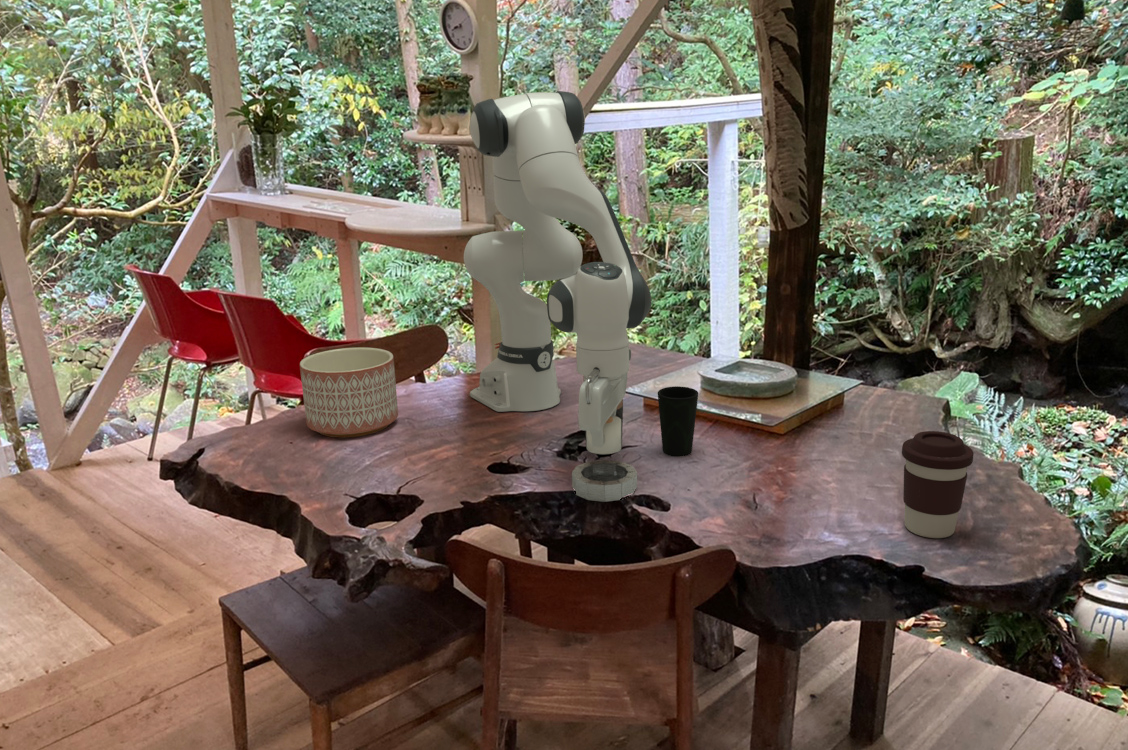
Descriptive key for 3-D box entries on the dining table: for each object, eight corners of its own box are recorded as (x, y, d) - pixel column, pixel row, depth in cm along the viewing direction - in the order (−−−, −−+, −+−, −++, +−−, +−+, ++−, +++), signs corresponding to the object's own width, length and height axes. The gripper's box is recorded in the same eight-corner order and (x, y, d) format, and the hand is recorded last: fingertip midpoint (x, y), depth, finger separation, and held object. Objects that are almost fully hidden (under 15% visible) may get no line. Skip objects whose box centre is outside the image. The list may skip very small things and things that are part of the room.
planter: (369, 445, 177) (362, 374, 172) (288, 436, 183) (280, 368, 178) (414, 414, 194) (409, 350, 190) (339, 407, 200) (333, 345, 196)
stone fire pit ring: (560, 488, 154) (559, 472, 153) (604, 470, 161) (604, 455, 160) (604, 507, 146) (604, 490, 145) (649, 487, 153) (649, 471, 152)
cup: (695, 459, 165) (697, 399, 161) (655, 457, 166) (655, 397, 163) (698, 445, 172) (699, 387, 168) (659, 443, 173) (659, 385, 170)
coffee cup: (893, 511, 142) (901, 424, 137) (959, 518, 139) (970, 429, 135) (897, 539, 133) (905, 447, 128) (968, 547, 130) (979, 452, 126)
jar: (580, 450, 150) (579, 421, 149) (597, 439, 155) (596, 411, 154) (611, 456, 147) (610, 426, 146) (627, 445, 152) (627, 416, 151)
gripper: (606, 379, 136) (607, 462, 140) (633, 347, 155) (633, 420, 159) (567, 377, 138) (569, 458, 142) (598, 345, 157) (599, 418, 161)
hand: (603, 438), depth 151 cm, fingers closed on jar, 6 cm apart
